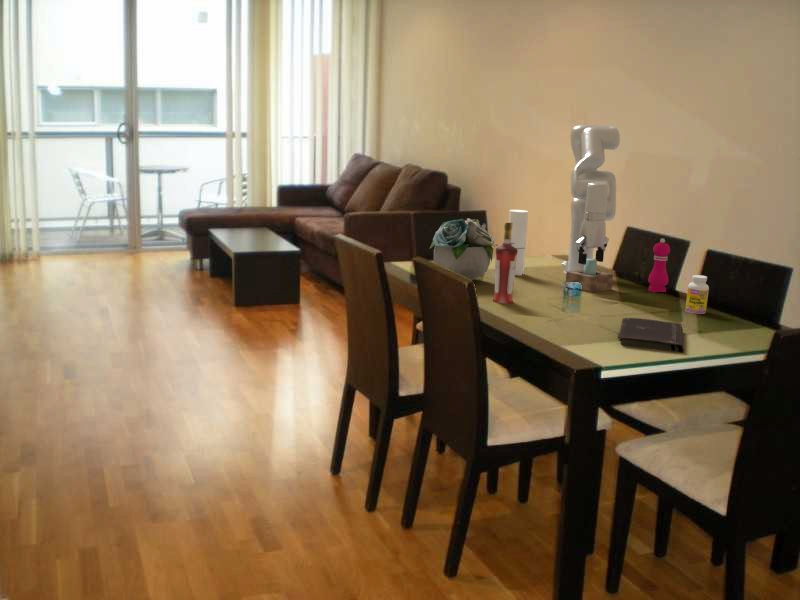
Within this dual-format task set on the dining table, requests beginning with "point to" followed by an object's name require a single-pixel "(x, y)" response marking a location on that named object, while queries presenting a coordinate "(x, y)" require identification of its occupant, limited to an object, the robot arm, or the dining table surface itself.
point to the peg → (590, 267)
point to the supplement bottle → (697, 295)
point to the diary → (651, 334)
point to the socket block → (591, 280)
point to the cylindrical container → (519, 236)
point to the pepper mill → (659, 268)
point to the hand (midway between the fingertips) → (590, 262)
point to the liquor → (505, 268)
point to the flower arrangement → (463, 247)
